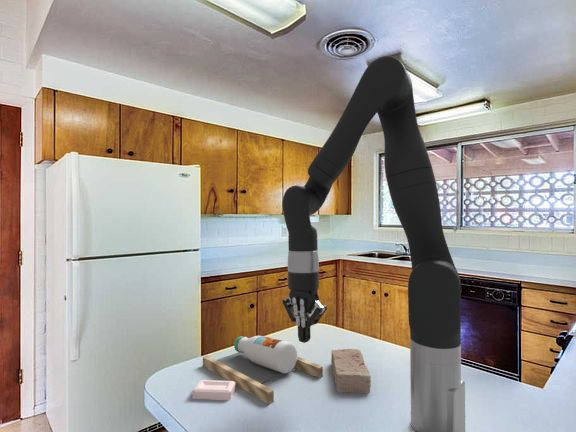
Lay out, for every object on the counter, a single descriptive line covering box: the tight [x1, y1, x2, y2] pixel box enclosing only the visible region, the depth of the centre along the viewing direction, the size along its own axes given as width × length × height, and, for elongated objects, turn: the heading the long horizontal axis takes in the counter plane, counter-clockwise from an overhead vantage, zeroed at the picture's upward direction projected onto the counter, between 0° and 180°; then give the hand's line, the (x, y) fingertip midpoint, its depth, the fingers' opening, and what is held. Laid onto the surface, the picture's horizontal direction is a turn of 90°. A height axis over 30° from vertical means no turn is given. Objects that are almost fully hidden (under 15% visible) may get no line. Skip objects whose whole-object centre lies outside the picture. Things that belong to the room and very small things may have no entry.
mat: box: [216, 352, 297, 385], centre depth 96 cm, size 20×15×1 cm
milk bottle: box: [233, 335, 298, 374], centre depth 97 cm, size 8×8×20 cm
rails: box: [202, 355, 324, 405], centre depth 93 cm, size 28×19×2 cm
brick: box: [330, 348, 372, 394], centre depth 90 cm, size 17×8×5 cm, turn 178°
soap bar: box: [191, 379, 236, 401], centre depth 82 cm, size 5×9×2 cm, turn 85°
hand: (304, 341), depth 82 cm, fingers closed
